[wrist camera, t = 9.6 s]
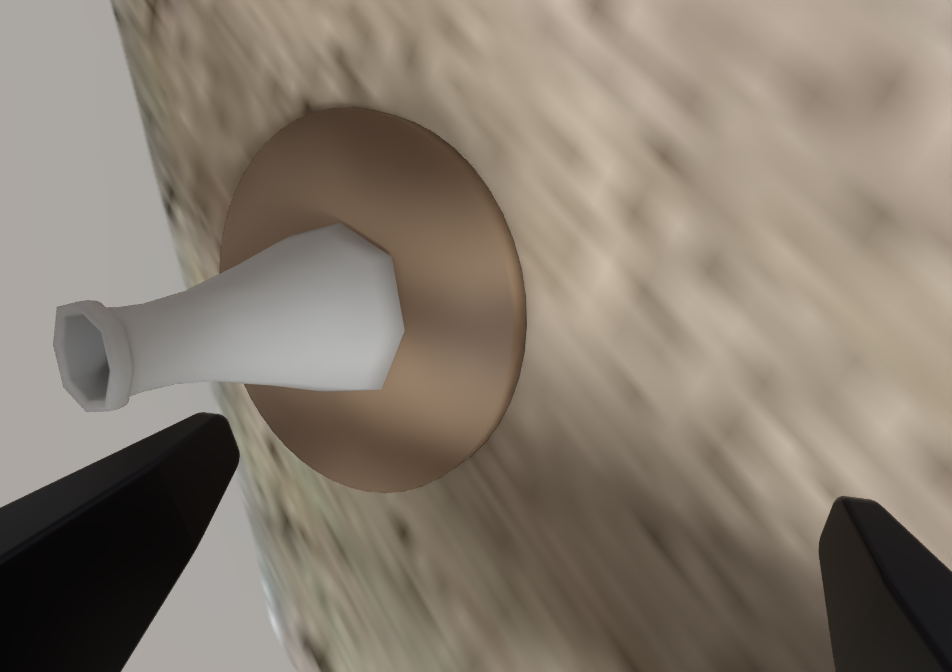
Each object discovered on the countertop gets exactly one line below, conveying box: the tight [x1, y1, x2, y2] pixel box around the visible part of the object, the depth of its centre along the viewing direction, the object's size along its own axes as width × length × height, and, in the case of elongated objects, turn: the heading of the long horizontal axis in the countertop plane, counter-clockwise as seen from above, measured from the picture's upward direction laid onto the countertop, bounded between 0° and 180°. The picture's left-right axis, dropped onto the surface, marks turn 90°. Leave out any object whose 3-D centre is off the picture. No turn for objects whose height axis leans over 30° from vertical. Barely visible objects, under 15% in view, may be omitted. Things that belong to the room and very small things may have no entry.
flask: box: [53, 223, 405, 412], centre depth 20 cm, size 7×7×10 cm
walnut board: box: [220, 107, 527, 493], centre depth 25 cm, size 16×16×1 cm
